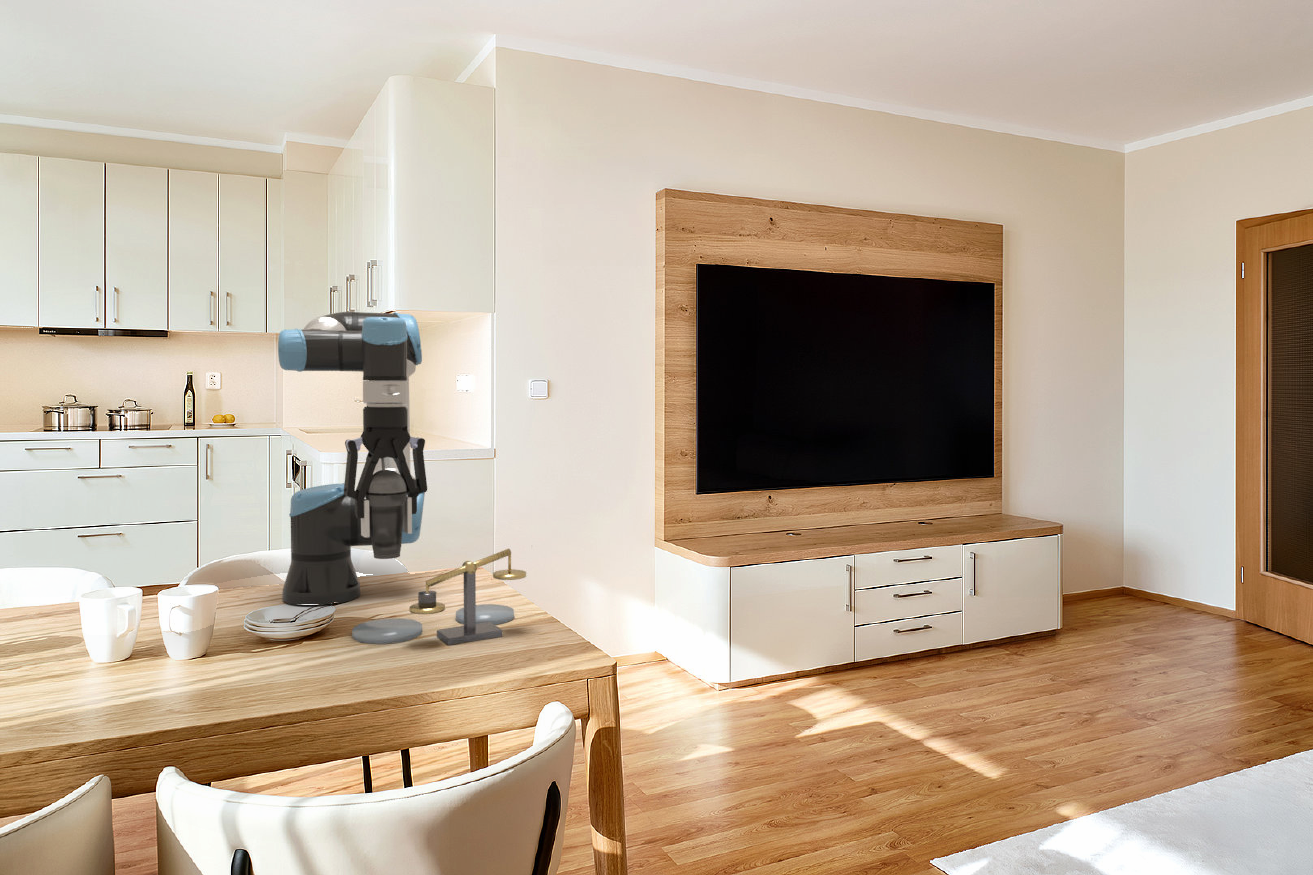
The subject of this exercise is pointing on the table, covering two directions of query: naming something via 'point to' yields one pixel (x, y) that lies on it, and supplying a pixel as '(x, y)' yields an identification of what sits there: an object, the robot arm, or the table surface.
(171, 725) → the table surface
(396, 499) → the beverage cup
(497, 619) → the dish light side
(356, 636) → the grey flat disc
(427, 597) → the balance
